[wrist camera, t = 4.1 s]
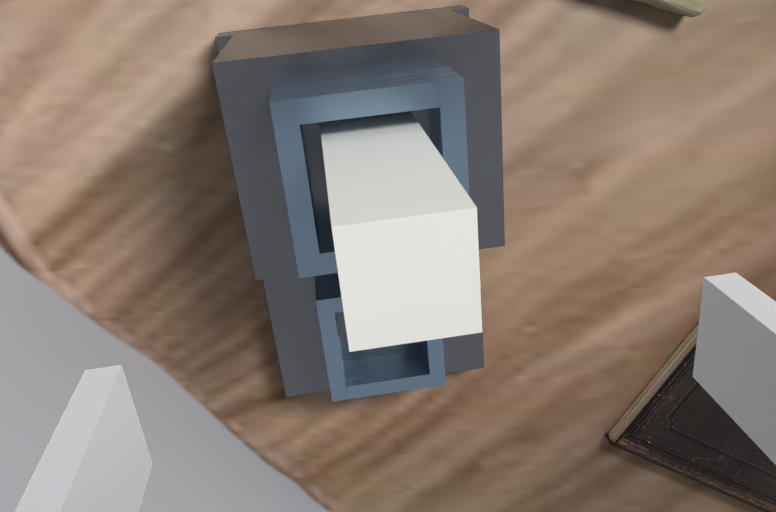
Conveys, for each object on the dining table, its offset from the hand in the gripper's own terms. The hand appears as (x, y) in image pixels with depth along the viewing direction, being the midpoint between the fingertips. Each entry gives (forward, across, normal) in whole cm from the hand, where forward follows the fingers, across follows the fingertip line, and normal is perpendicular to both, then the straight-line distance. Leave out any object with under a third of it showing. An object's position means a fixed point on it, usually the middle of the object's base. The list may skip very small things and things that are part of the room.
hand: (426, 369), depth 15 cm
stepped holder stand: (+28, 0, -7) cm, 29 cm away
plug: (+16, 0, 0) cm, 16 cm away
